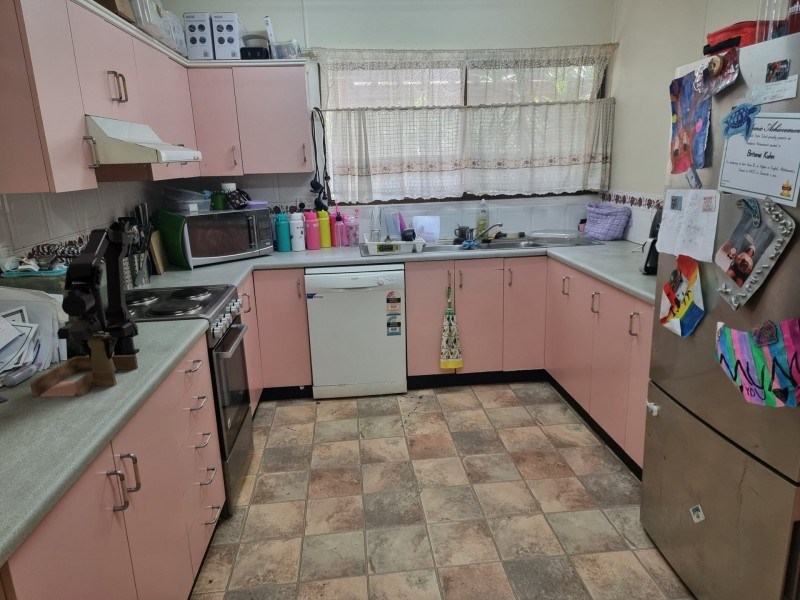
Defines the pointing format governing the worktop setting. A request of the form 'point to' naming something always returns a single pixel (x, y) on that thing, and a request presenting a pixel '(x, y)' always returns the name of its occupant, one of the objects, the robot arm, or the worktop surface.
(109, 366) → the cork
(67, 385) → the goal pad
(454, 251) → the worktop surface
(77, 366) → the bent channel
